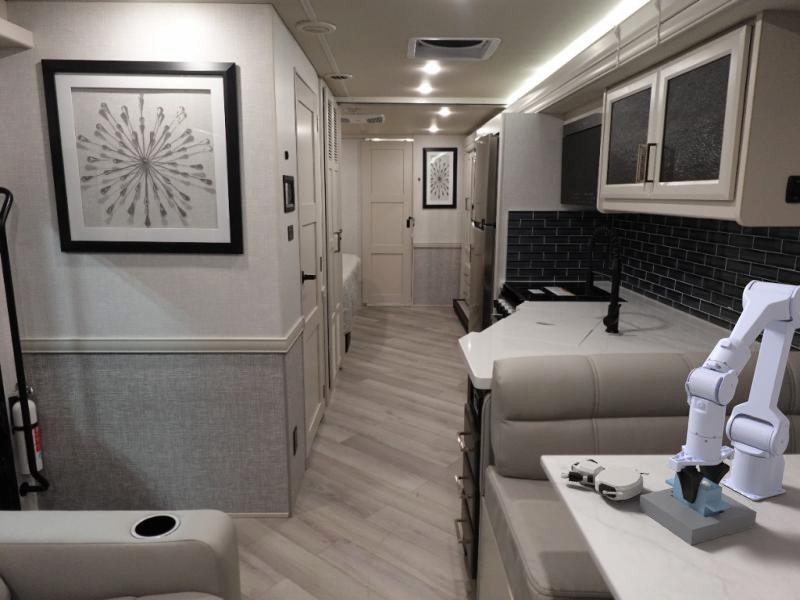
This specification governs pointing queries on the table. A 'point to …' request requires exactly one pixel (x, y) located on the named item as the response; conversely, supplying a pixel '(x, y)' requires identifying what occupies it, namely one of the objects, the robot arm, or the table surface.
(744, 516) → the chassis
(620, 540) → the table surface
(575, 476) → the robot toy
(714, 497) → the block
